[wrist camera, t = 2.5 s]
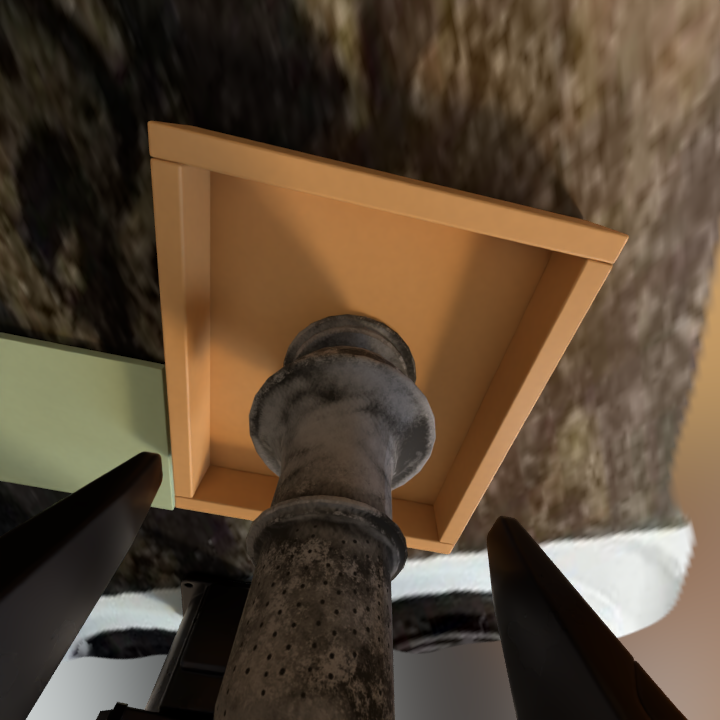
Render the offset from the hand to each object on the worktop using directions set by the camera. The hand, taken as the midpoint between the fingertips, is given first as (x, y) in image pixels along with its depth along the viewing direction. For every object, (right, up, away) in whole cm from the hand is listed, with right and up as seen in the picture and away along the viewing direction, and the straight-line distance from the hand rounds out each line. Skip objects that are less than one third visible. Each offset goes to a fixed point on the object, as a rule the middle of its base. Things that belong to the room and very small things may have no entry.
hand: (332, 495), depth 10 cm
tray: (0, +3, +5) cm, 6 cm away
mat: (-13, +1, +8) cm, 15 cm away
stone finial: (0, +3, +5) cm, 6 cm away
